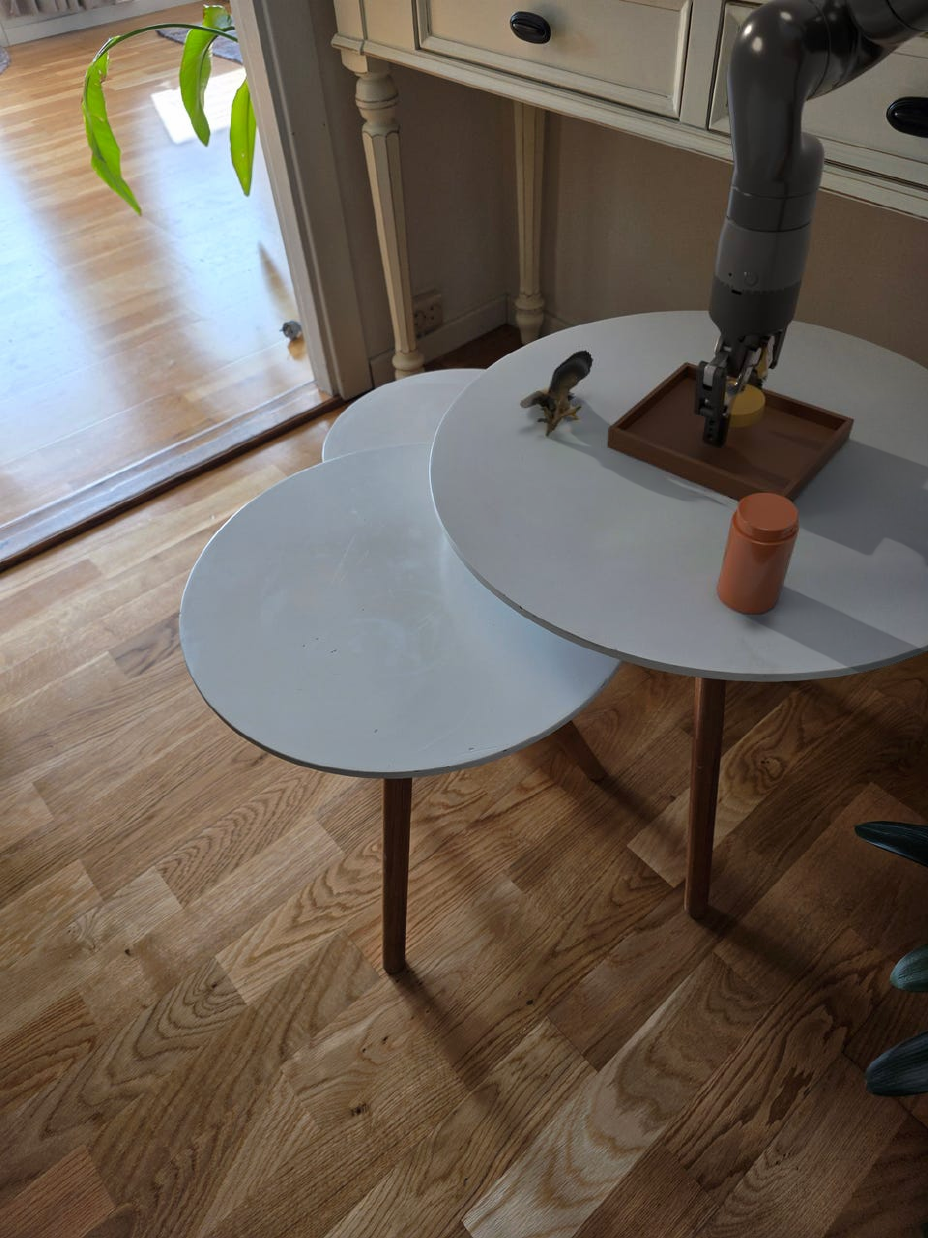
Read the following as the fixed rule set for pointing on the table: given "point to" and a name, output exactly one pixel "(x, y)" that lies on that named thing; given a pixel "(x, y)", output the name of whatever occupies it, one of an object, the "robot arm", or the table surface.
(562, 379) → the eagle figurine
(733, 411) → the jar lid
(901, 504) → the table surface
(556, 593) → the table surface
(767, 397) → the tray
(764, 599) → the jar
